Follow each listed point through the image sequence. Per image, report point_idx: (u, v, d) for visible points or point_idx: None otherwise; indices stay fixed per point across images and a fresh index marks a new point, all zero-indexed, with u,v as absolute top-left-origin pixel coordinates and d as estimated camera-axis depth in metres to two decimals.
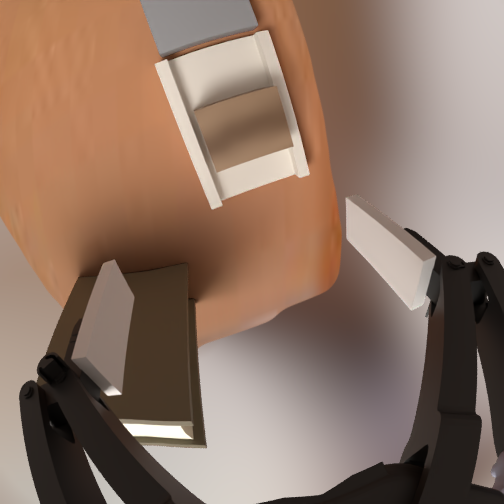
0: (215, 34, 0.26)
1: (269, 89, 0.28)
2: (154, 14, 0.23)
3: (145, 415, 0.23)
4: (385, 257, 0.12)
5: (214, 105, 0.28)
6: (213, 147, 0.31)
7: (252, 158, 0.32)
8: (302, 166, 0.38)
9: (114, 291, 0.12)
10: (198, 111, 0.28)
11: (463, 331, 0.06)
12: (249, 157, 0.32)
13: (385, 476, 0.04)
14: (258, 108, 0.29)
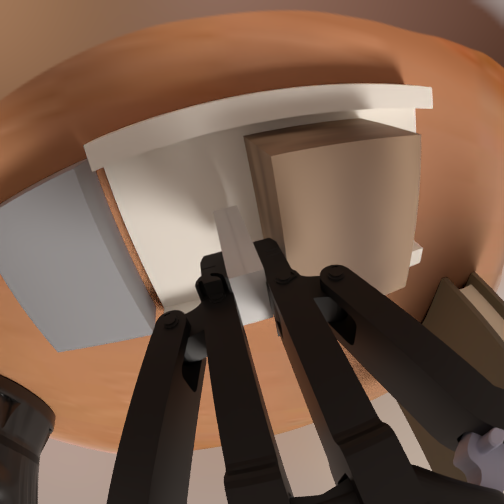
0: (108, 254, 0.15)
1: (280, 177, 0.11)
2: (83, 338, 0.18)
3: None
4: None
5: None
6: None
7: (413, 227, 0.14)
8: (417, 96, 0.14)
9: None
10: None
11: (322, 347, 0.07)
12: (410, 233, 0.14)
13: None
14: (327, 208, 0.12)
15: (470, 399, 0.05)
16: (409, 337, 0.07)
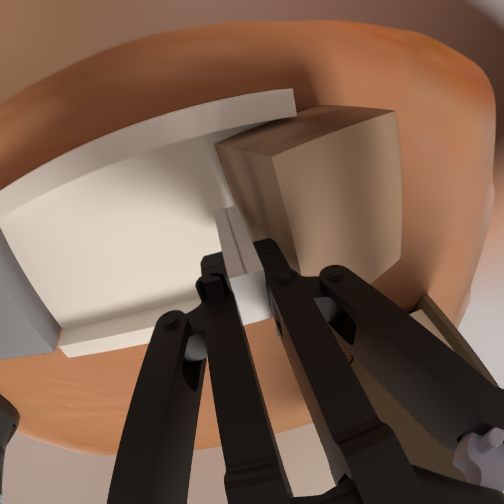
0: (6, 289, 0.15)
1: (282, 177, 0.10)
2: (9, 350, 0.18)
3: None
4: None
5: None
6: (371, 274, 0.16)
7: (401, 200, 0.15)
8: (267, 106, 0.13)
9: None
10: None
11: (322, 347, 0.07)
12: (398, 206, 0.15)
13: None
14: (328, 200, 0.12)
15: (470, 399, 0.05)
16: (409, 337, 0.07)
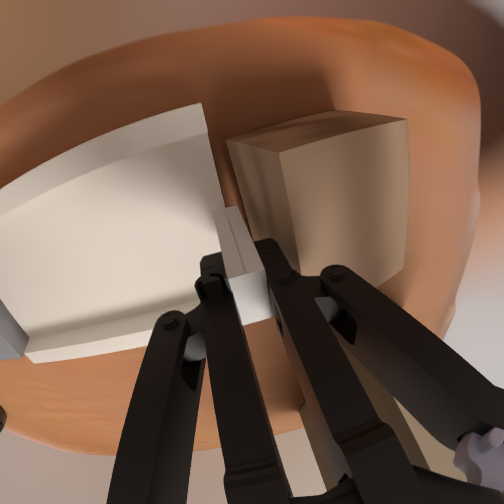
0: None
1: (288, 174, 0.10)
2: None
3: None
4: None
5: None
6: (372, 282, 0.16)
7: (407, 209, 0.14)
8: (173, 125, 0.12)
9: None
10: None
11: (323, 347, 0.07)
12: (404, 215, 0.15)
13: None
14: (333, 201, 0.12)
15: (470, 399, 0.05)
16: (409, 337, 0.07)
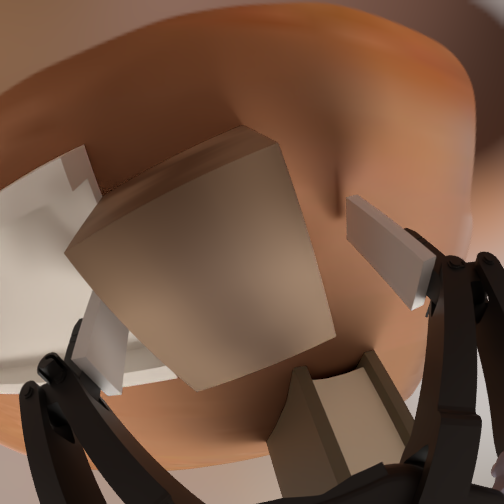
0: None
1: (83, 270, 0.09)
2: None
3: None
4: (385, 257, 0.12)
5: (174, 370, 0.12)
6: (276, 355, 0.13)
7: (316, 274, 0.11)
8: (39, 187, 0.09)
9: None
10: (194, 387, 0.13)
11: (463, 331, 0.06)
12: (312, 282, 0.11)
13: (385, 476, 0.04)
14: (154, 288, 0.10)
15: None
16: None
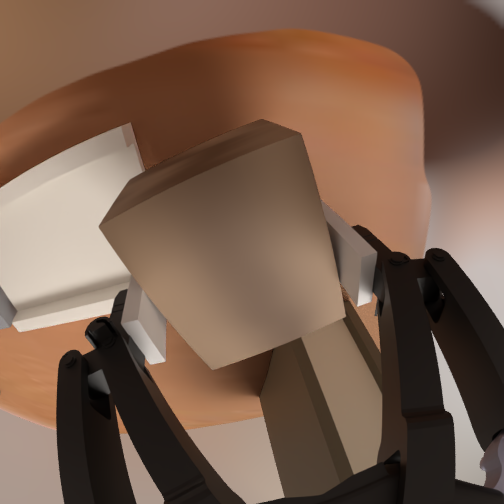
0: None
1: (116, 244, 0.10)
2: None
3: None
4: None
5: (193, 346, 0.13)
6: (290, 332, 0.14)
7: (330, 254, 0.12)
8: (103, 144, 0.16)
9: None
10: (211, 365, 0.14)
11: (416, 329, 0.07)
12: (326, 261, 0.12)
13: (385, 476, 0.04)
14: (183, 262, 0.11)
15: None
16: (484, 323, 0.06)
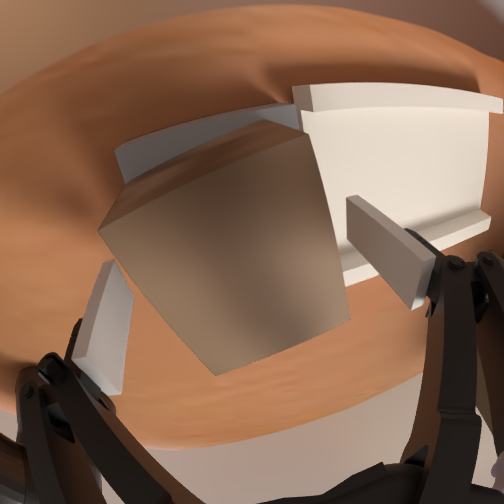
0: None
1: (116, 248, 0.09)
2: None
3: None
4: (385, 257, 0.12)
5: (196, 352, 0.13)
6: (294, 337, 0.14)
7: (336, 257, 0.12)
8: (496, 104, 0.15)
9: (114, 291, 0.12)
10: (214, 370, 0.14)
11: (463, 331, 0.06)
12: (332, 264, 0.12)
13: (385, 476, 0.04)
14: (186, 266, 0.10)
15: None
16: None
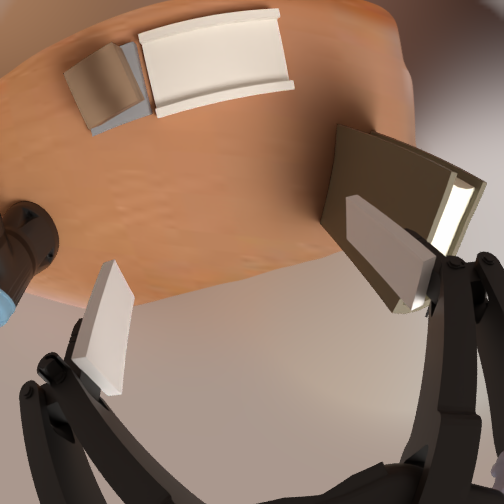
0: (138, 72, 0.33)
1: (66, 77, 0.25)
2: (112, 121, 0.35)
3: (435, 207, 0.27)
4: (385, 257, 0.12)
5: (82, 114, 0.29)
6: (115, 107, 0.30)
7: (124, 72, 0.28)
8: (269, 12, 0.31)
9: (114, 291, 0.12)
10: (88, 126, 0.30)
11: (463, 331, 0.06)
12: (123, 75, 0.28)
13: (385, 476, 0.04)
14: (82, 80, 0.26)
15: None
16: None
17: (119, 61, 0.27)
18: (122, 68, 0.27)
